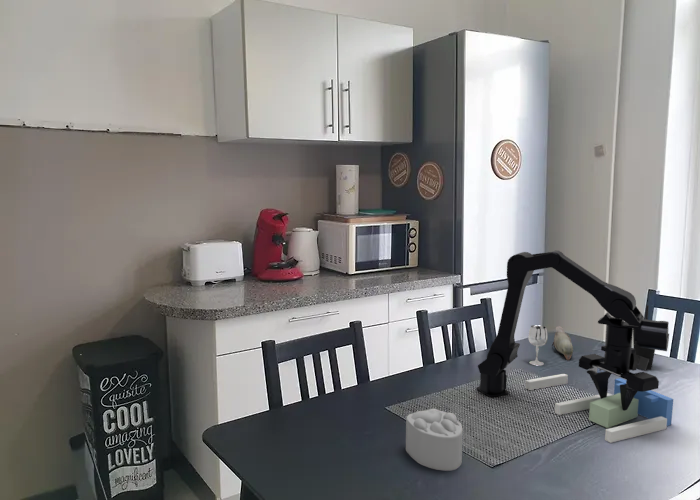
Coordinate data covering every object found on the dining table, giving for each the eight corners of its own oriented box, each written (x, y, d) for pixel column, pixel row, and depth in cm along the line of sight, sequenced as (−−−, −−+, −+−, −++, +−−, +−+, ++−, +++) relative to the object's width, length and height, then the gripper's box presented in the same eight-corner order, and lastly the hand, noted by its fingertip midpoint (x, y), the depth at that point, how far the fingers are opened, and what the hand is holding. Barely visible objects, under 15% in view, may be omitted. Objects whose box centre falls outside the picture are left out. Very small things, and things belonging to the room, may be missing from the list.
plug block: (607, 428, 128) (609, 409, 127) (588, 420, 132) (590, 402, 132) (637, 417, 134) (638, 399, 134) (618, 409, 138) (619, 392, 138)
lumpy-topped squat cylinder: (440, 437, 124) (441, 401, 123) (474, 465, 112) (475, 425, 111) (399, 446, 120) (400, 408, 119) (430, 475, 108) (431, 434, 107)
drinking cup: (623, 365, 172) (627, 304, 169) (640, 362, 175) (644, 301, 172) (645, 373, 165) (650, 309, 162) (662, 369, 168) (667, 307, 166)
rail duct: (610, 442, 121) (612, 415, 120) (514, 390, 151) (515, 368, 150) (675, 426, 129) (677, 400, 129) (571, 380, 159) (572, 359, 158)
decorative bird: (559, 360, 177) (560, 338, 176) (549, 346, 193) (550, 325, 192) (577, 361, 176) (578, 339, 175) (565, 346, 192) (566, 326, 191)
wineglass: (548, 366, 171) (550, 329, 169) (530, 366, 171) (532, 329, 170) (542, 360, 177) (544, 324, 175) (524, 360, 177) (526, 324, 175)
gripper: (677, 350, 125) (672, 415, 127) (611, 330, 142) (607, 387, 144) (643, 356, 121) (638, 423, 123) (578, 334, 138) (575, 393, 140)
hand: (614, 405), depth 133 cm, fingers open, 6 cm apart
